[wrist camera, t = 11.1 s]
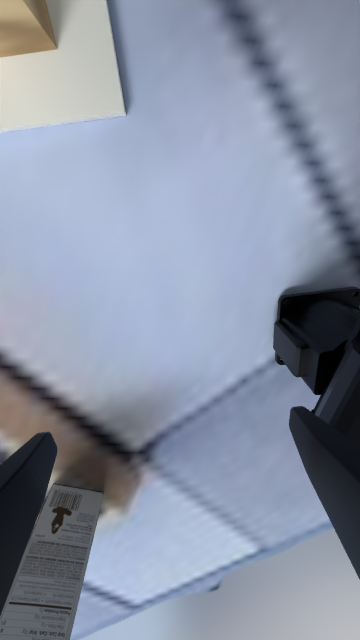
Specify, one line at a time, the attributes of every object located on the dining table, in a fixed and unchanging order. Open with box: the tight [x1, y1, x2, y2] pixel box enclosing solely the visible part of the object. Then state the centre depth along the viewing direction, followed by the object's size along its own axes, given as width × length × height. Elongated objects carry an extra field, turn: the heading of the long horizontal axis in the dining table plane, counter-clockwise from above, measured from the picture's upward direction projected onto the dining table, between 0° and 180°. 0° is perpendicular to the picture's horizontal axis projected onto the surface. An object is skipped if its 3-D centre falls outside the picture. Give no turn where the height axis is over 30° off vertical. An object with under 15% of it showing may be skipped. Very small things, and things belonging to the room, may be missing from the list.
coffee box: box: [0, 484, 103, 640], centre depth 23 cm, size 9×6×16 cm
